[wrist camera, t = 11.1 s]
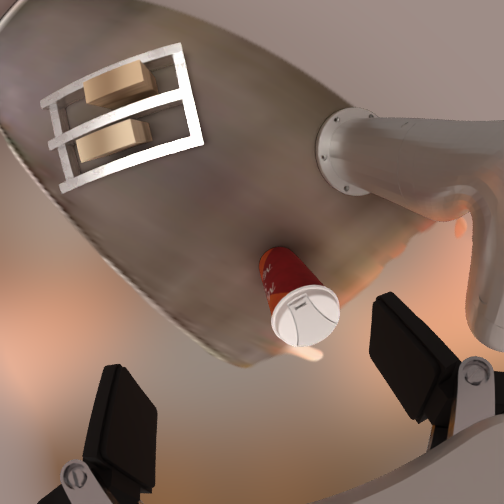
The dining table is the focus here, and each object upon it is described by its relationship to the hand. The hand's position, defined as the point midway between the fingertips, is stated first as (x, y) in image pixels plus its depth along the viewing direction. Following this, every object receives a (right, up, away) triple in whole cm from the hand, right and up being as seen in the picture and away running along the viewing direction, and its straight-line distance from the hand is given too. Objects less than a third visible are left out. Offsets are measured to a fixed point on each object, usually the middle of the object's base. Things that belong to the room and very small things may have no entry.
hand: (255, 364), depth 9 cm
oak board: (-15, +23, +18) cm, 33 cm away
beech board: (-15, +18, +21) cm, 31 cm away
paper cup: (+4, +2, +31) cm, 32 cm away
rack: (-16, +20, +19) cm, 32 cm away
